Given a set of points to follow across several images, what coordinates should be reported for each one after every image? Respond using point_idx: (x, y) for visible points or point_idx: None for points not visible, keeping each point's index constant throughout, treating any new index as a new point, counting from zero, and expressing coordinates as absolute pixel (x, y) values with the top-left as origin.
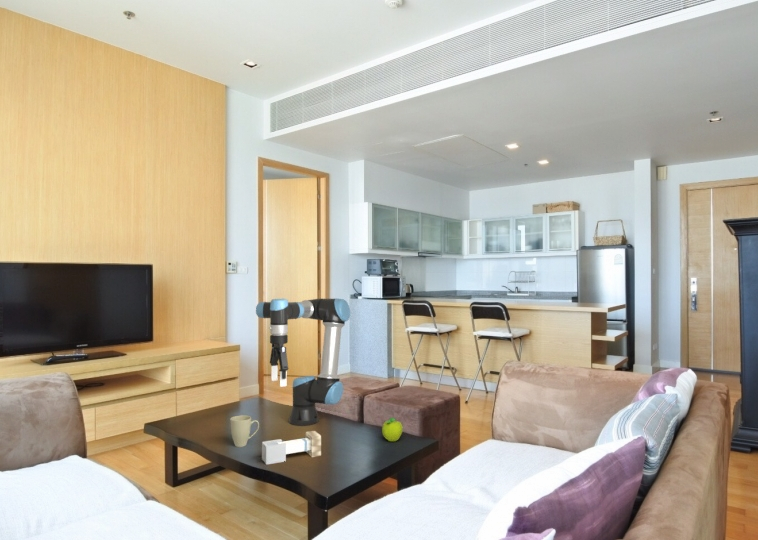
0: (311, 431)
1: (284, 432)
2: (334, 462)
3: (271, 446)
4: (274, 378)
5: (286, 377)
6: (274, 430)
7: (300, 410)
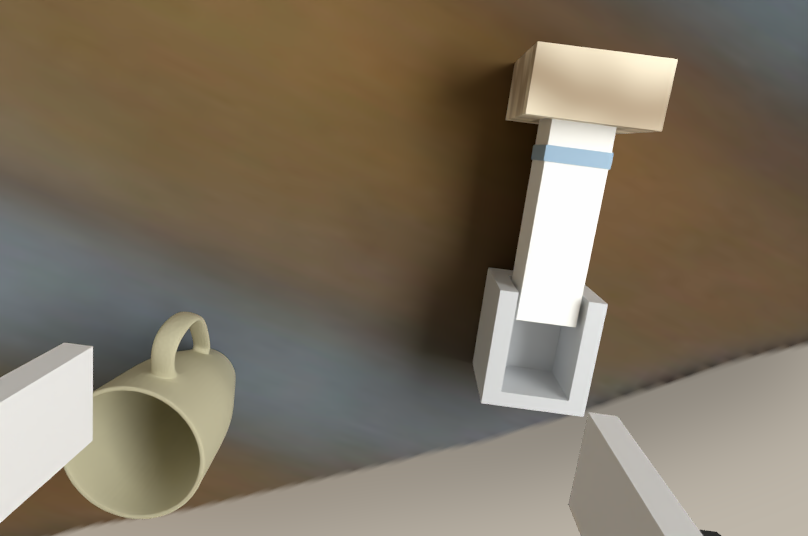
0: (540, 70)
1: (102, 73)
2: (769, 64)
3: (588, 387)
4: (69, 412)
5: (682, 508)
6: (31, 111)
7: None
